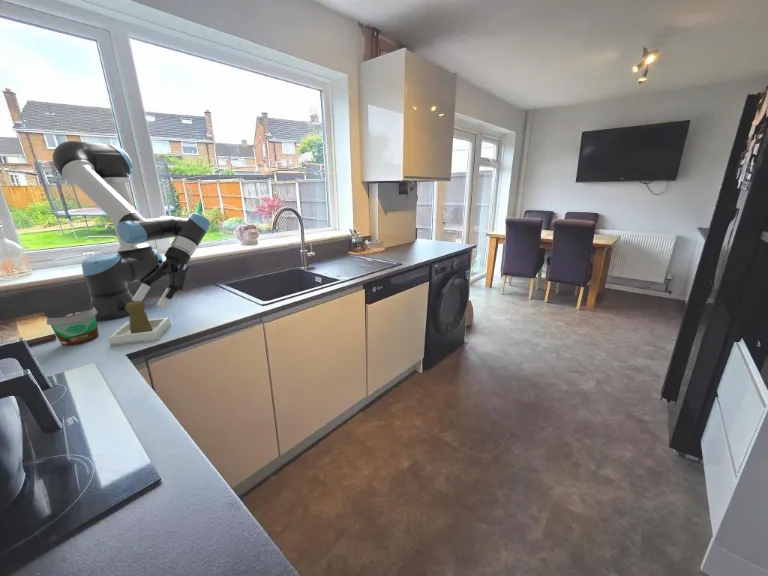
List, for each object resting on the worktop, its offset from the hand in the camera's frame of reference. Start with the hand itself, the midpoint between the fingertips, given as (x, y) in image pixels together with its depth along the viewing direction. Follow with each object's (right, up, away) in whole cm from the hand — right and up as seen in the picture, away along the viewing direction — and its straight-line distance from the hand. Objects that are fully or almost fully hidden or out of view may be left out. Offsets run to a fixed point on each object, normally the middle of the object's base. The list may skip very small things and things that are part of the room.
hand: (147, 304), depth 109 cm
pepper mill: (-2, -10, +1) cm, 10 cm away
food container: (-19, -12, -3) cm, 23 cm away
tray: (-2, -10, +1) cm, 11 cm away
